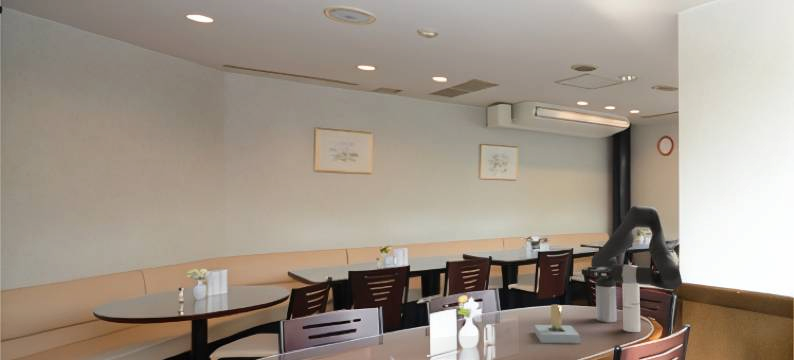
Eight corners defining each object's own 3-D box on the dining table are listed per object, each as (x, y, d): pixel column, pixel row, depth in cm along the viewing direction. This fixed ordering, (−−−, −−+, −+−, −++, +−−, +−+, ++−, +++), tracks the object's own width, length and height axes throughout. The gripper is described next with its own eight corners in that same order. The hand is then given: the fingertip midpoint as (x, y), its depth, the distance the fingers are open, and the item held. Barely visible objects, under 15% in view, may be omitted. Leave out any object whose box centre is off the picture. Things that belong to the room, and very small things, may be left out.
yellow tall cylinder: (550, 336, 224) (549, 304, 225) (560, 336, 224) (560, 304, 224) (552, 339, 220) (551, 306, 220) (563, 339, 219) (562, 306, 220)
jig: (534, 332, 231) (534, 324, 231) (570, 333, 229) (570, 325, 229) (540, 342, 215) (540, 334, 215) (579, 343, 213) (579, 335, 213)
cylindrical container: (642, 332, 230) (640, 277, 230) (625, 331, 231) (624, 276, 232) (638, 328, 237) (636, 274, 237) (621, 327, 238) (620, 274, 239)
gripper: (629, 262, 213) (589, 260, 223) (621, 266, 202) (579, 263, 211) (629, 280, 213) (589, 277, 222) (621, 285, 201) (579, 281, 211)
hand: (584, 270), depth 217 cm, fingers open, 8 cm apart
